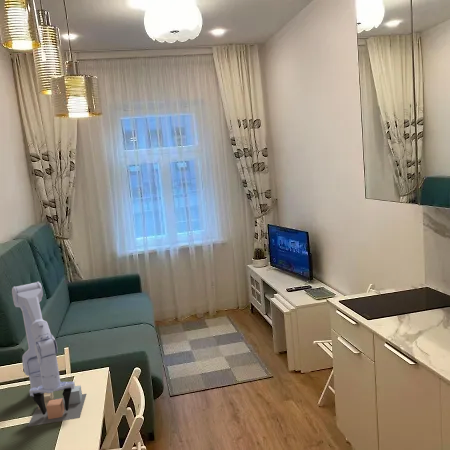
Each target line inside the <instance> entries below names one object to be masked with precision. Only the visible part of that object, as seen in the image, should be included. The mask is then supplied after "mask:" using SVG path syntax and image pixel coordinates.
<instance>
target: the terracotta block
mask: <svg viewBox="0 0 450 450" xmlns="http://www.w3.org/2000/svg"><path fill="white" fill-rule="evenodd" d="M61 398H62V399H57V398H55V399H56V400H50V401H49V402H48V404H47V413H48V419H53V418H59V417H62V416H63V413H64V405H63V397H61Z"/></svg>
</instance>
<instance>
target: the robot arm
mask: <svg viewBox="0 0 450 450" xmlns="http://www.w3.org/2000/svg"><path fill="white" fill-rule="evenodd" d="M11 296H12V301H13V305H14V307H15V308H20V310H21V312H22V318H23V323H24V325H23V326H24V330H25V336H26V340H27V346H28V349H27V350H26V351H25V352H24V353H23V354H22V356H21V358H22V369H23V372H24V374H25V375H26V376H28V378H29V383H30V389H29V397H32V400H33V401H34V402H35V404H37V406H39V407H40V409H41V411H42V414H43V415H44V414H45V413H46V407H45V402H44V393H52V392H53V393H54V392H58V391H59V392H60V391H63V392H62V398H63V397H64V401H65V409H66V411H68V409H69V399H70V394H71V390H72V389H74V388H75V386H76V385H75V380H73V381H61V377H60V370H59V363H58V358H57V354H58V352H59V350H58V344H57V343H58V342H57V340H56V339H55V336H54V335H53V334H52V333H51V330H50V326H49V323H48V321H47V320H44V319H43V315H42V314H43V313H42V310H41V305H40V302H42V300H43V297H44V291H43V286H42V283H41V282H40V281H36V282H32V283H27V284H21V285H17V286H12V288H11Z"/></svg>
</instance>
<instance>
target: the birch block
mask: <svg viewBox="0 0 450 450" xmlns="http://www.w3.org/2000/svg"><path fill="white" fill-rule="evenodd" d="M54 399H55V397H54V392H52V393H44V402H45V407H46V408H47V404H48V402H49V401H50V400H54ZM37 406H38V405H37ZM38 407H39V406H38ZM39 410H40V407H39Z"/></svg>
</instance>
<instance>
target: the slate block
mask: <svg viewBox="0 0 450 450" xmlns="http://www.w3.org/2000/svg"><path fill="white" fill-rule="evenodd" d="M82 394H83V391H82V386H81V384H80V385H75V388H74V389H72V390H71V394H70V399H69V405H70V404H76V403H81V400H82Z"/></svg>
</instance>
